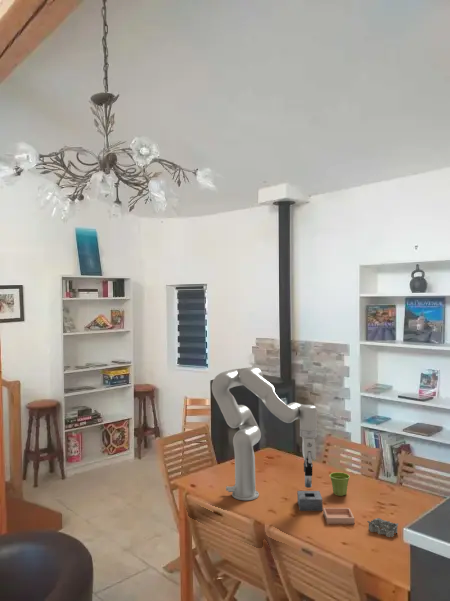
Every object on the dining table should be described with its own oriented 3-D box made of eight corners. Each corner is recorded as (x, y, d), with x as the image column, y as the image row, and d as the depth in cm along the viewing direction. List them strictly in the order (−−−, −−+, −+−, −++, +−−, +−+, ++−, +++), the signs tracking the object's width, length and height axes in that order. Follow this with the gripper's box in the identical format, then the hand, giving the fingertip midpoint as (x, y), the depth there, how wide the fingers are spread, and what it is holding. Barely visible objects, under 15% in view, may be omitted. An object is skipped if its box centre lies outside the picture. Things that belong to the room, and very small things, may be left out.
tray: (327, 524, 204) (326, 517, 205) (323, 513, 215) (323, 507, 215) (354, 524, 204) (354, 518, 204) (349, 513, 214) (349, 508, 214)
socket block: (299, 510, 218) (299, 499, 218) (297, 501, 228) (297, 490, 228) (322, 510, 218) (322, 499, 218) (319, 501, 228) (319, 490, 228)
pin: (313, 488, 221) (313, 465, 221) (304, 488, 221) (304, 465, 221) (312, 484, 225) (312, 462, 225) (303, 484, 225) (303, 462, 225)
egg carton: (366, 530, 198) (365, 520, 199) (375, 524, 204) (375, 514, 204) (391, 539, 191) (390, 528, 191) (400, 532, 196) (399, 522, 196)
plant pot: (350, 498, 231) (350, 479, 232) (329, 496, 233) (329, 478, 233) (349, 490, 241) (349, 472, 241) (329, 489, 242) (329, 471, 243)
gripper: (319, 438, 215) (319, 480, 215) (314, 428, 231) (314, 467, 231) (301, 438, 215) (301, 480, 215) (298, 428, 232) (297, 467, 232)
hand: (308, 473), depth 223 cm, fingers closed on pin, 4 cm apart
